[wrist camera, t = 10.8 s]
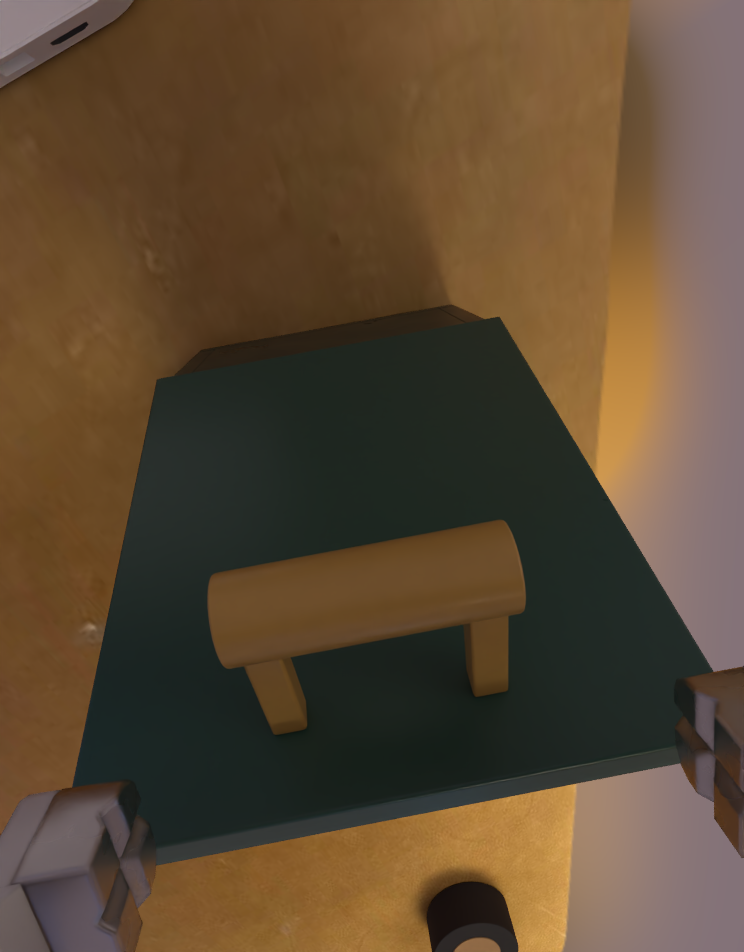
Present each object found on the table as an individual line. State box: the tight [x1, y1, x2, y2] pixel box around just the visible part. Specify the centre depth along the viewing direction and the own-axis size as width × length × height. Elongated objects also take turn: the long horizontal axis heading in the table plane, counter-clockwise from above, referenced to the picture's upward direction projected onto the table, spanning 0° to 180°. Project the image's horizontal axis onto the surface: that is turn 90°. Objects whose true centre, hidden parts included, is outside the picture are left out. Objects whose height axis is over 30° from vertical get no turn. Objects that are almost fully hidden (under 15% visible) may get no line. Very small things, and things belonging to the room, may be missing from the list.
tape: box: [427, 882, 518, 952], centre depth 46 cm, size 6×6×3 cm
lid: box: [72, 317, 713, 865], centre depth 17 cm, size 16×13×5 cm
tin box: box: [174, 305, 484, 376], centre depth 32 cm, size 16×13×9 cm
